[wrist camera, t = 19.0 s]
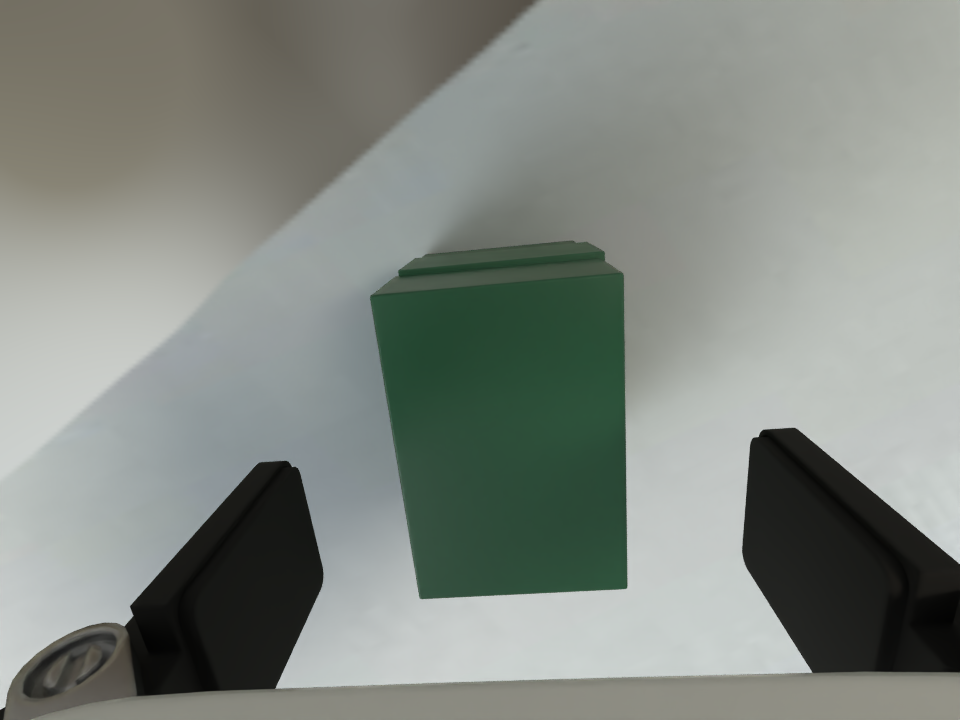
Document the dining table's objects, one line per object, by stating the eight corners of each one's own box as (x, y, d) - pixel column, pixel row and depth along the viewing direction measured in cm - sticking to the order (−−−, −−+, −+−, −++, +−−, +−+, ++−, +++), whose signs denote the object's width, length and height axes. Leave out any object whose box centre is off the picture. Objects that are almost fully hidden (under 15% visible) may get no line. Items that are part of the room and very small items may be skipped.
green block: (423, 249, 21) (394, 270, 15) (575, 235, 20) (605, 250, 15) (450, 452, 23) (433, 536, 18) (584, 443, 23) (611, 525, 17)
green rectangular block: (394, 276, 15) (369, 295, 12) (600, 257, 15) (624, 272, 12) (432, 535, 18) (419, 600, 15) (607, 524, 17) (627, 590, 14)
